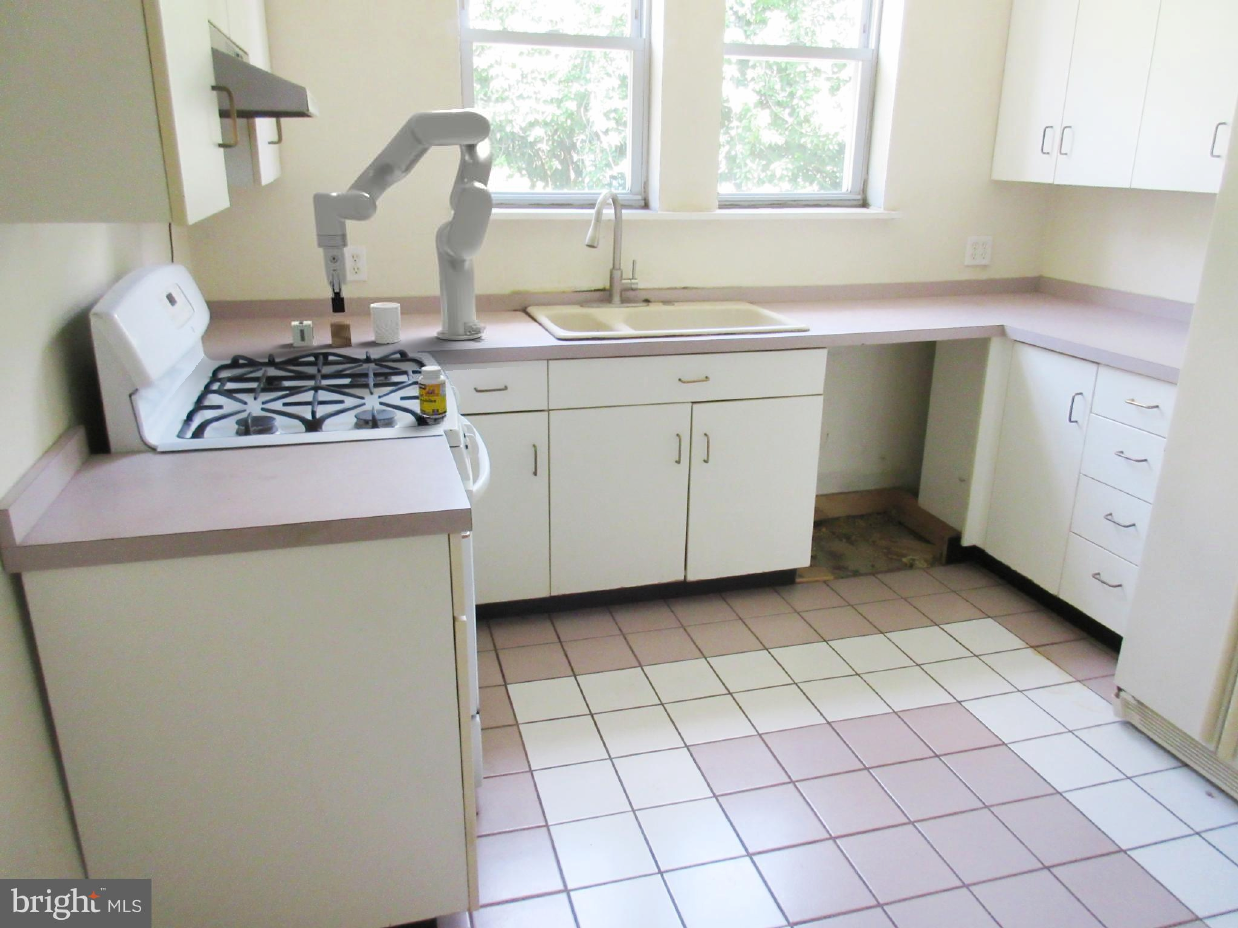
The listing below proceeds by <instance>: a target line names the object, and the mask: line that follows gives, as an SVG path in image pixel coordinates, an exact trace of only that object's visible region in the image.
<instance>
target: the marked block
mask: <svg viewBox="0 0 1238 928" xmlns="http://www.w3.org/2000/svg"><path fill="white" fill-rule="evenodd" d="M312 324H313V323H312V320H307V321H306V320H299V321H291V324H290V325H291V326H290V327H291V335H292V345H293V347H294V346H295V347H294V348H297V347H311V346H312V347H313V346H314V329H313V328H314V327H313V325H312Z"/></svg>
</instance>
